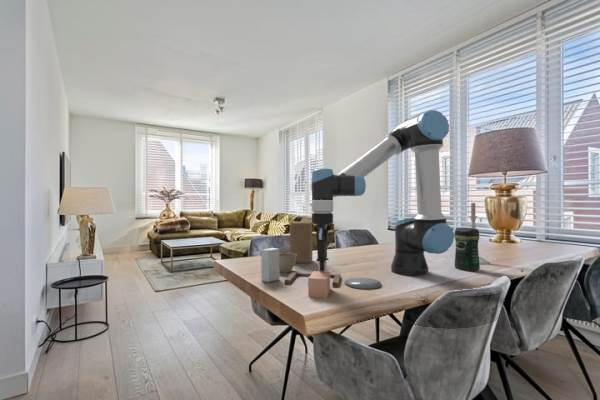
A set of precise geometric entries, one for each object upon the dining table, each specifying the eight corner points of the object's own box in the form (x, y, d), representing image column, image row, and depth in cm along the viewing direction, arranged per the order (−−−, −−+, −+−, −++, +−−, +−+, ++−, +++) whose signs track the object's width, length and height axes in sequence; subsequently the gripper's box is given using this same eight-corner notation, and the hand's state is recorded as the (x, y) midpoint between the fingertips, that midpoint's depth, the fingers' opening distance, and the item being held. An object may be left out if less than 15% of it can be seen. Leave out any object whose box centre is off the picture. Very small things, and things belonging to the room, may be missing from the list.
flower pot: (269, 272, 130) (269, 255, 130) (280, 267, 139) (280, 252, 139) (291, 274, 126) (291, 257, 126) (300, 269, 135) (300, 253, 135)
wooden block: (309, 264, 146) (309, 222, 147) (289, 263, 148) (289, 222, 149) (312, 260, 156) (312, 221, 156) (293, 259, 158) (293, 221, 158)
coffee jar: (483, 270, 133) (483, 228, 133) (470, 272, 129) (470, 228, 130) (463, 266, 142) (463, 226, 142) (451, 267, 138) (451, 227, 138)
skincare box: (271, 277, 121) (271, 247, 121) (280, 279, 118) (280, 248, 118) (260, 280, 116) (260, 249, 116) (268, 282, 113) (268, 250, 113)
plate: (379, 280, 116) (379, 278, 116) (382, 290, 104) (382, 287, 104) (345, 278, 119) (345, 276, 119) (343, 288, 106) (343, 285, 106)
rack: (340, 277, 121) (340, 273, 121) (338, 287, 107) (338, 282, 107) (292, 275, 125) (292, 271, 125) (284, 284, 111) (284, 280, 111)
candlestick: (494, 264, 146) (493, 202, 146) (467, 264, 146) (467, 202, 146) (478, 259, 159) (478, 202, 159) (454, 259, 159) (454, 202, 159)
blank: (330, 289, 106) (330, 271, 106) (327, 298, 96) (327, 279, 96) (313, 288, 107) (313, 271, 107) (308, 296, 97) (308, 278, 97)
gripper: (314, 211, 114) (314, 274, 114) (308, 213, 101) (308, 283, 101) (334, 212, 113) (334, 275, 113) (331, 213, 100) (331, 284, 100)
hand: (322, 279), depth 107 cm, fingers closed
